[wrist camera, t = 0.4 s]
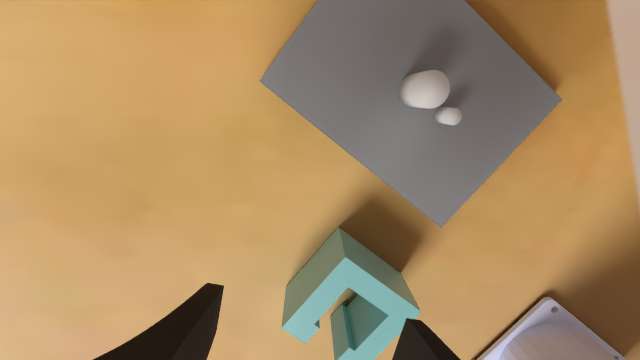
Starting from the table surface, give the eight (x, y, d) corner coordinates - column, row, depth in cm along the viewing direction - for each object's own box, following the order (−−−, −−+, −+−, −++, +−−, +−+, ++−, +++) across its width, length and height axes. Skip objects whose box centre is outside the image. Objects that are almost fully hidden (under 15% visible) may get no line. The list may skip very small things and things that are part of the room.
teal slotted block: (338, 226, 21) (345, 256, 17) (400, 273, 22) (421, 311, 18) (286, 287, 22) (281, 328, 18) (348, 328, 23) (356, 376, 19)
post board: (549, 99, 19) (601, 99, 16) (434, 221, 21) (459, 245, 17) (375, -75, 16) (393, -120, 13) (261, 82, 18) (251, 78, 15)
